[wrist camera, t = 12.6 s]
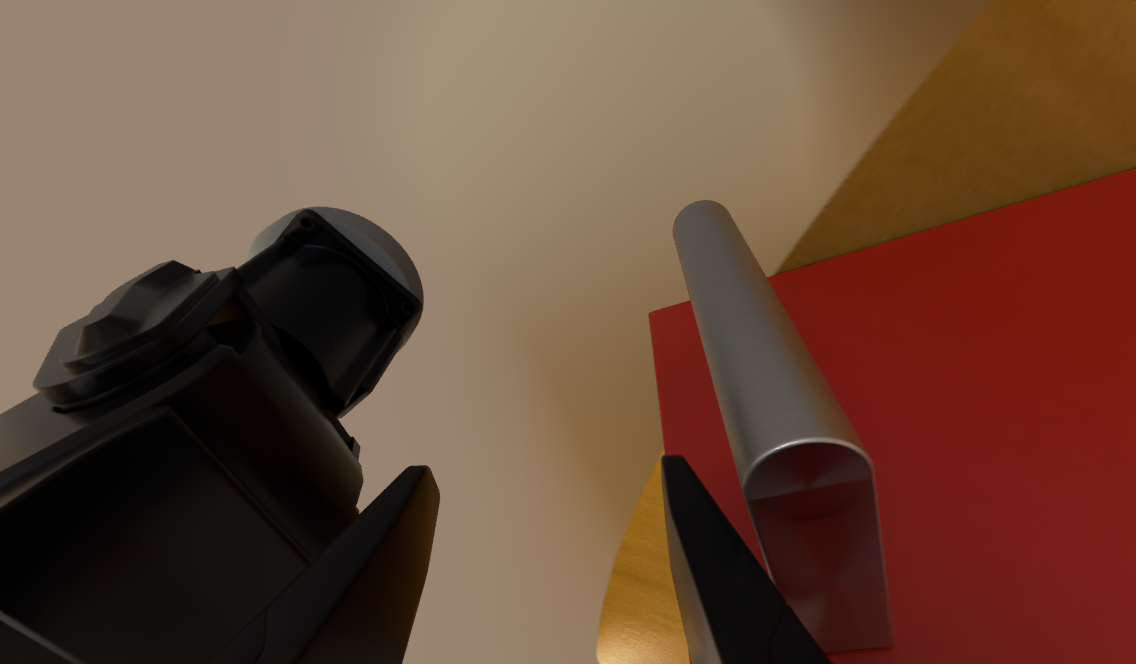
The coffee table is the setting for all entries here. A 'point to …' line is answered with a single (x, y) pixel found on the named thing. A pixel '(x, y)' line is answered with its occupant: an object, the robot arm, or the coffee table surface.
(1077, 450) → the cupboard door
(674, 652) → the coffee table surface
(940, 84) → the coffee table surface
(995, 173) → the coffee table surface
